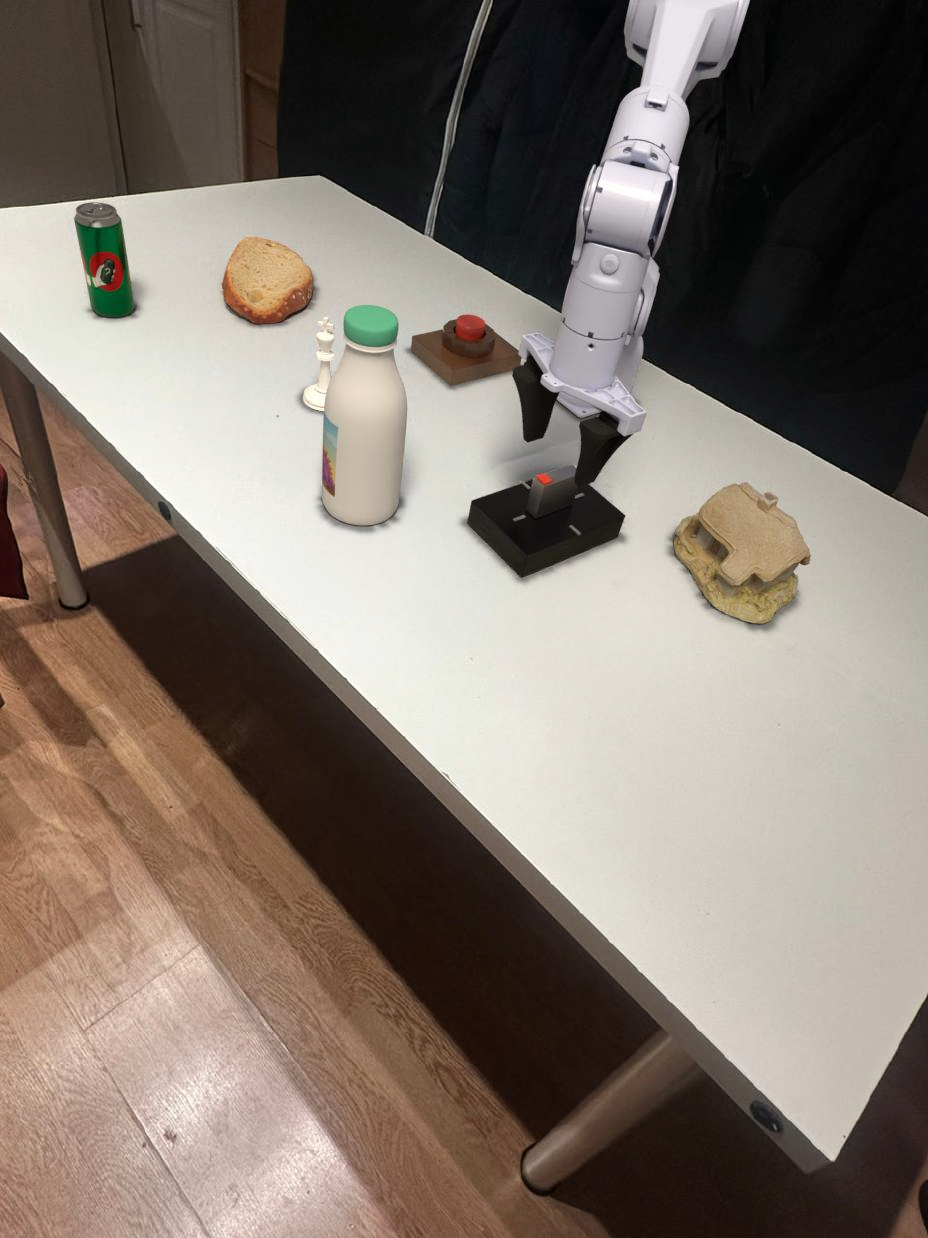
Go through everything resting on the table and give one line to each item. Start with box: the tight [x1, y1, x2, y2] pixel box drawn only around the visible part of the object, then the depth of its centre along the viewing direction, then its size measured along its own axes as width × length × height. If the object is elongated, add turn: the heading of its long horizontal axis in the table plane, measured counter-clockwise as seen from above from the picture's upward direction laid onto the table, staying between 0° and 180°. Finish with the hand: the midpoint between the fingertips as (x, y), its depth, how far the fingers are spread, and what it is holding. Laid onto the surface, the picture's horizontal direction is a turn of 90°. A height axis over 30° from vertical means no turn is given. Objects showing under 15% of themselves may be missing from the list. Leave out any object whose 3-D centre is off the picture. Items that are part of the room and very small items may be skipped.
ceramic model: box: [673, 481, 812, 624], centre depth 80 cm, size 14×11×10 cm
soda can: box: [73, 201, 136, 319], centre depth 98 cm, size 5×5×12 cm
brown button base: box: [410, 318, 523, 387], centre depth 104 cm, size 11×9×4 cm
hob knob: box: [526, 463, 578, 519], centre depth 80 cm, size 5×2×4 cm, turn 126°
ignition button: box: [455, 313, 486, 340], centre depth 102 cm, size 4×4×2 cm
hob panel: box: [466, 478, 626, 578], centre depth 83 cm, size 13×9×3 cm
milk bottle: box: [321, 304, 408, 526], centre depth 76 cm, size 8×8×20 cm
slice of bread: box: [221, 236, 314, 325], centre depth 111 cm, size 18×18×4 cm
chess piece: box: [302, 316, 336, 412], centre depth 91 cm, size 5×5×10 cm
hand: (558, 459), depth 78 cm, fingers open, 7 cm apart
